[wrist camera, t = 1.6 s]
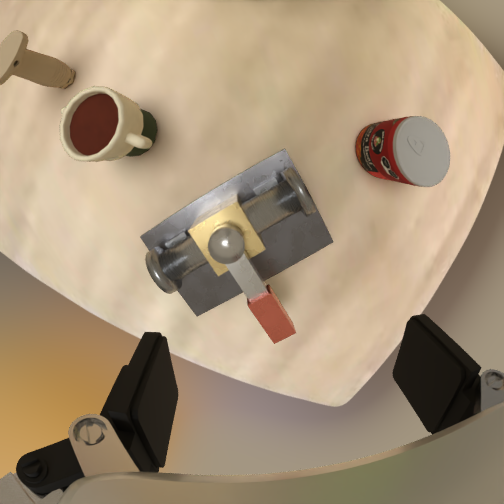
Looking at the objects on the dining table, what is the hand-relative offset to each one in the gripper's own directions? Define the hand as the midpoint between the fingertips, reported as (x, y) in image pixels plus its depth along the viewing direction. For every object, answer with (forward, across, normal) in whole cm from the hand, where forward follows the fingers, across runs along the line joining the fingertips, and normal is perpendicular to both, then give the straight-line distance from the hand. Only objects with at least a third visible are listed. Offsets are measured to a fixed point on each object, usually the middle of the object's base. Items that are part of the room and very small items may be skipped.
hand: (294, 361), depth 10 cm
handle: (+27, +27, -23) cm, 45 cm away
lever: (+21, 0, +5) cm, 22 cm away
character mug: (+28, +15, -12) cm, 34 cm away
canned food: (+28, -18, -10) cm, 34 cm away
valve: (+28, +2, +2) cm, 28 cm away
